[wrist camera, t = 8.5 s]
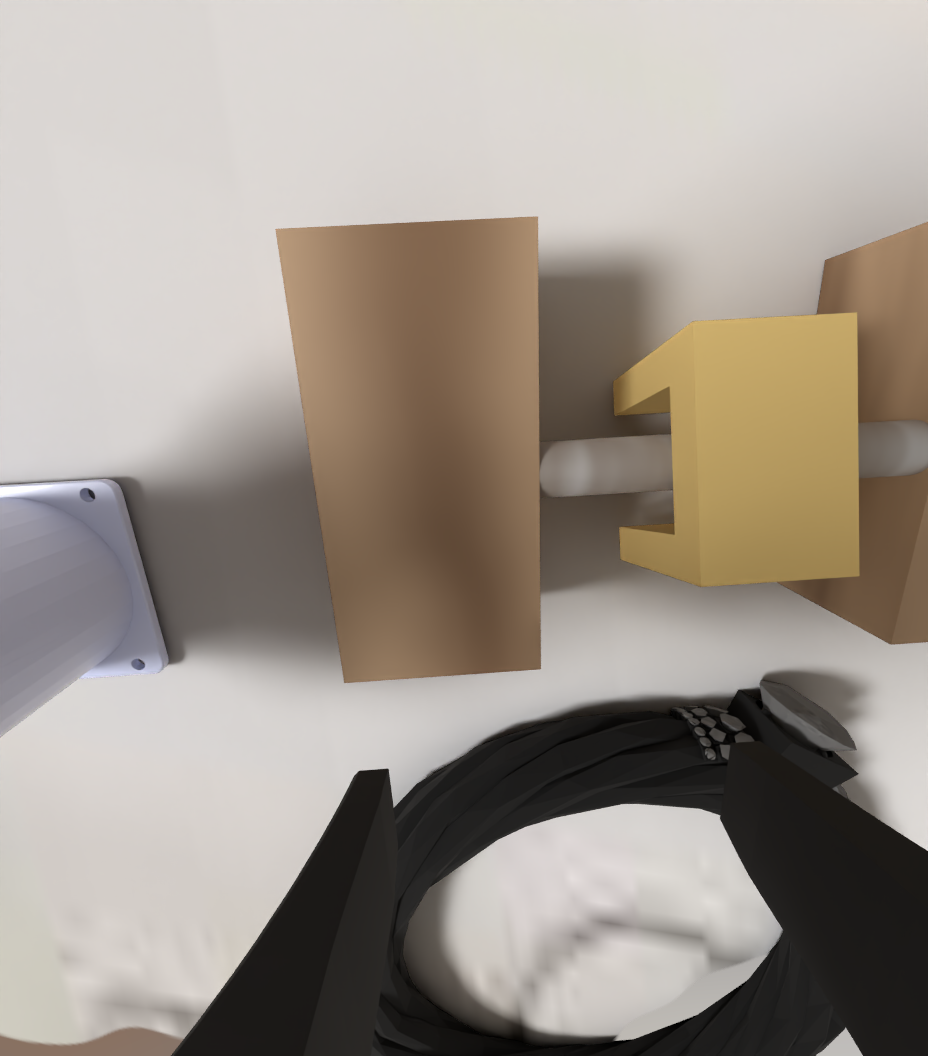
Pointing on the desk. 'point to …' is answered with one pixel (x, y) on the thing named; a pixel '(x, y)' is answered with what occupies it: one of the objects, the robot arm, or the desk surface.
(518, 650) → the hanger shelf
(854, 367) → the yellow block
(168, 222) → the desk surface
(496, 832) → the cable lock
